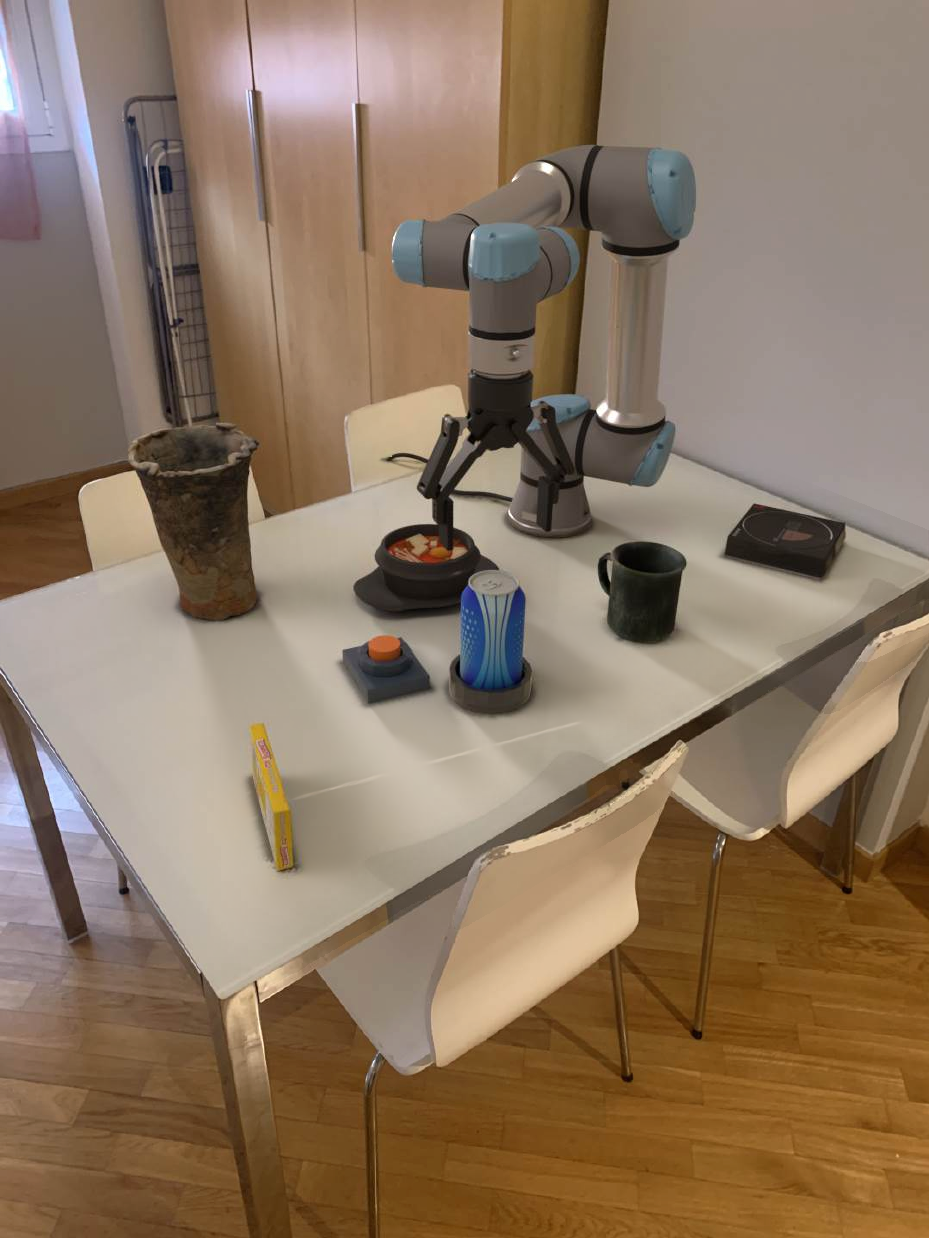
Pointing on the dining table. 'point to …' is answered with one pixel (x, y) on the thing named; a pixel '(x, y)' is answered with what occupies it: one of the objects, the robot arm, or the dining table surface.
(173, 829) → the dining table surface
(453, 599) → the casserole
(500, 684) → the beer can
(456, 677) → the dock
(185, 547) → the vase
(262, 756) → the candy box
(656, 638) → the mug
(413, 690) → the button base
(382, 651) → the button
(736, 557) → the portable cd player
